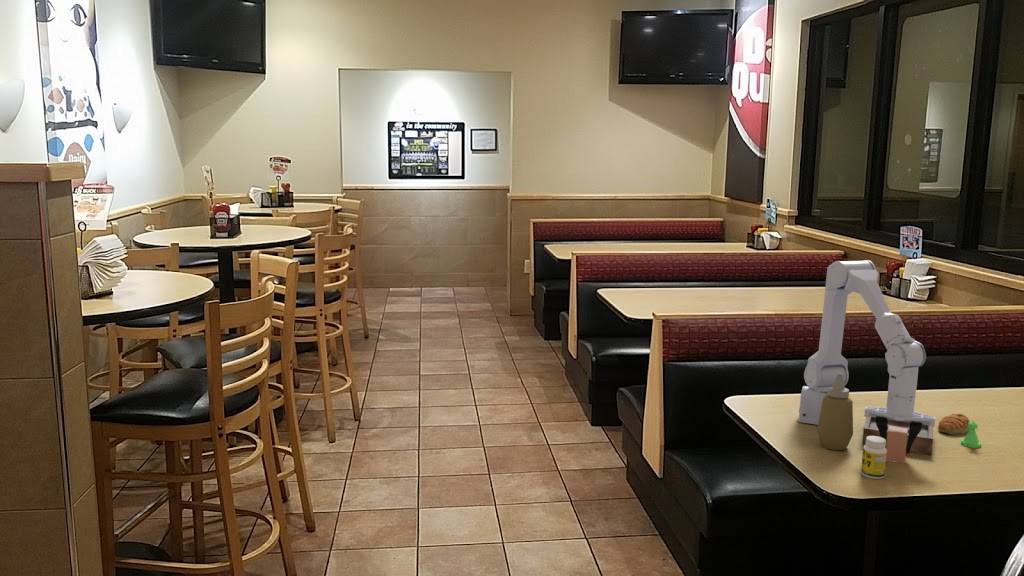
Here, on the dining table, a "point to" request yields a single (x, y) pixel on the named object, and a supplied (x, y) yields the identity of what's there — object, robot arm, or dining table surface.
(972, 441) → the game piece
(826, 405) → the squeeze bottle
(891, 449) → the peg
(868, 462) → the supplement bottle
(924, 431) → the socket box
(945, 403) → the dining table surface
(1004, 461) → the dining table surface
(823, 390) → the robot arm
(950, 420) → the pastry
